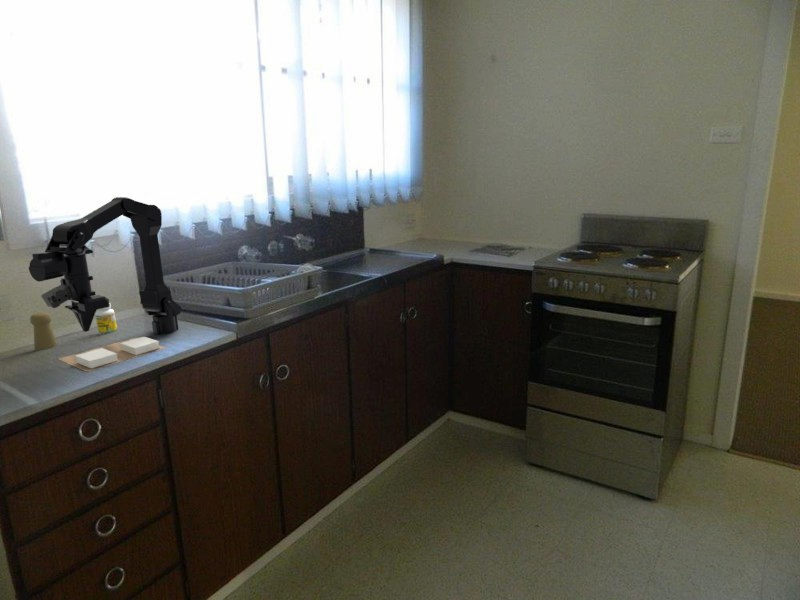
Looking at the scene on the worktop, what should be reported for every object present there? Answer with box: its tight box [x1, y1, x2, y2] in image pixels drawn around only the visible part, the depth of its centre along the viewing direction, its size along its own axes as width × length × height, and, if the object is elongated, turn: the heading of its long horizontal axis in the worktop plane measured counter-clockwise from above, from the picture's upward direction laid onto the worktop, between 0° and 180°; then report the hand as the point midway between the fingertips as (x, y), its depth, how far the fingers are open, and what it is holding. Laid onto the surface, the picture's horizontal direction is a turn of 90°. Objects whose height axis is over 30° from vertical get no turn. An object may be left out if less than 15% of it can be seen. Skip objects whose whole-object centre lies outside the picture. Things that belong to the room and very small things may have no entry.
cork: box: [29, 311, 58, 352], centre depth 169 cm, size 6×6×11 cm
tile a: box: [120, 336, 161, 355], centre depth 164 cm, size 7×2×8 cm
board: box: [57, 337, 167, 373], centre depth 162 cm, size 22×17×1 cm
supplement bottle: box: [94, 302, 118, 335], centre depth 183 cm, size 5×5×10 cm
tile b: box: [75, 348, 118, 368], centre depth 155 cm, size 7×2×8 cm
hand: (86, 331), depth 155 cm, fingers closed
